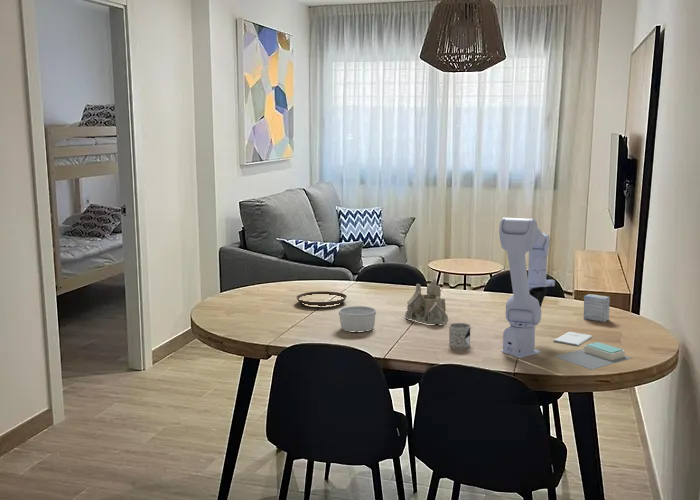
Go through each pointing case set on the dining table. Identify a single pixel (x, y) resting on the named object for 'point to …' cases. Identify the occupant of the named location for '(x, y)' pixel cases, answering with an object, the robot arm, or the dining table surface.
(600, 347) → the slab
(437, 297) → the ceramic cottage
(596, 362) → the mat
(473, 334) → the dining table surface
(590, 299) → the medicine box
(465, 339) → the mug
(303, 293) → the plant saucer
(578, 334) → the external hard drive
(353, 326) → the ramekin
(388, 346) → the dining table surface
